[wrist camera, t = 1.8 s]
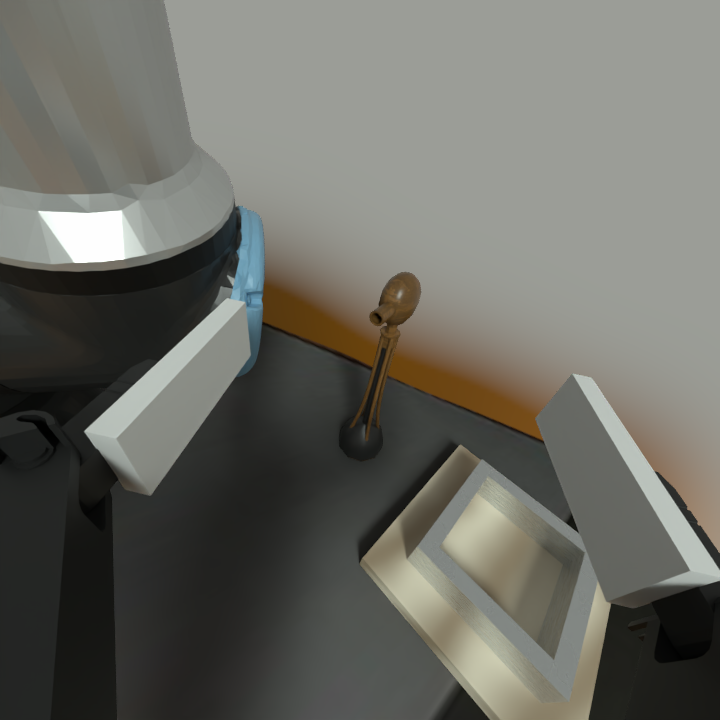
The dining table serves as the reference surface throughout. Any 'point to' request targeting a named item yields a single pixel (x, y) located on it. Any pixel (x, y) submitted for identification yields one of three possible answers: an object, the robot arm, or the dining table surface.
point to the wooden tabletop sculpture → (380, 366)
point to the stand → (497, 579)
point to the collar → (486, 618)
